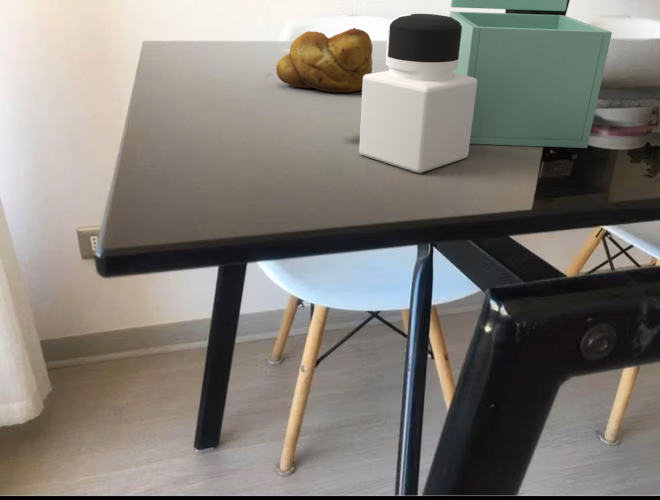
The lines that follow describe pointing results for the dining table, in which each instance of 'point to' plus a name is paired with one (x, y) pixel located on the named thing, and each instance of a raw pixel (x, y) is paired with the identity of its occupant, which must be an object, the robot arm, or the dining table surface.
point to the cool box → (532, 77)
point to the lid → (512, 4)
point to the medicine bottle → (418, 97)
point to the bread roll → (328, 61)
